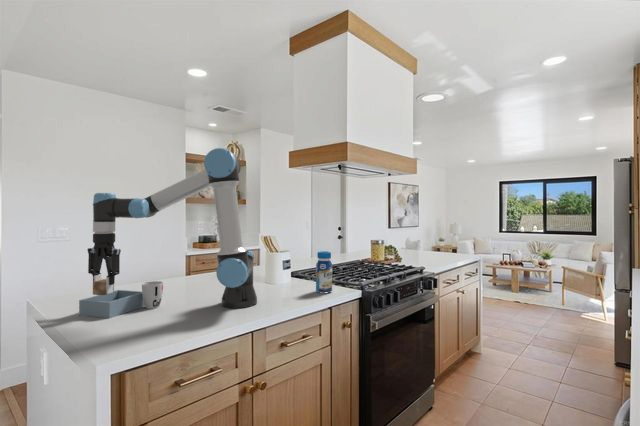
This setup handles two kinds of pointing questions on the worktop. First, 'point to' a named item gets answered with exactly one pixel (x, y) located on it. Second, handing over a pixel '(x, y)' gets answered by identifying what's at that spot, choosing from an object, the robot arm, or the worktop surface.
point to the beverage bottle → (324, 272)
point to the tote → (111, 304)
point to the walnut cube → (100, 287)
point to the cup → (152, 294)
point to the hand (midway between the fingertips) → (103, 292)
